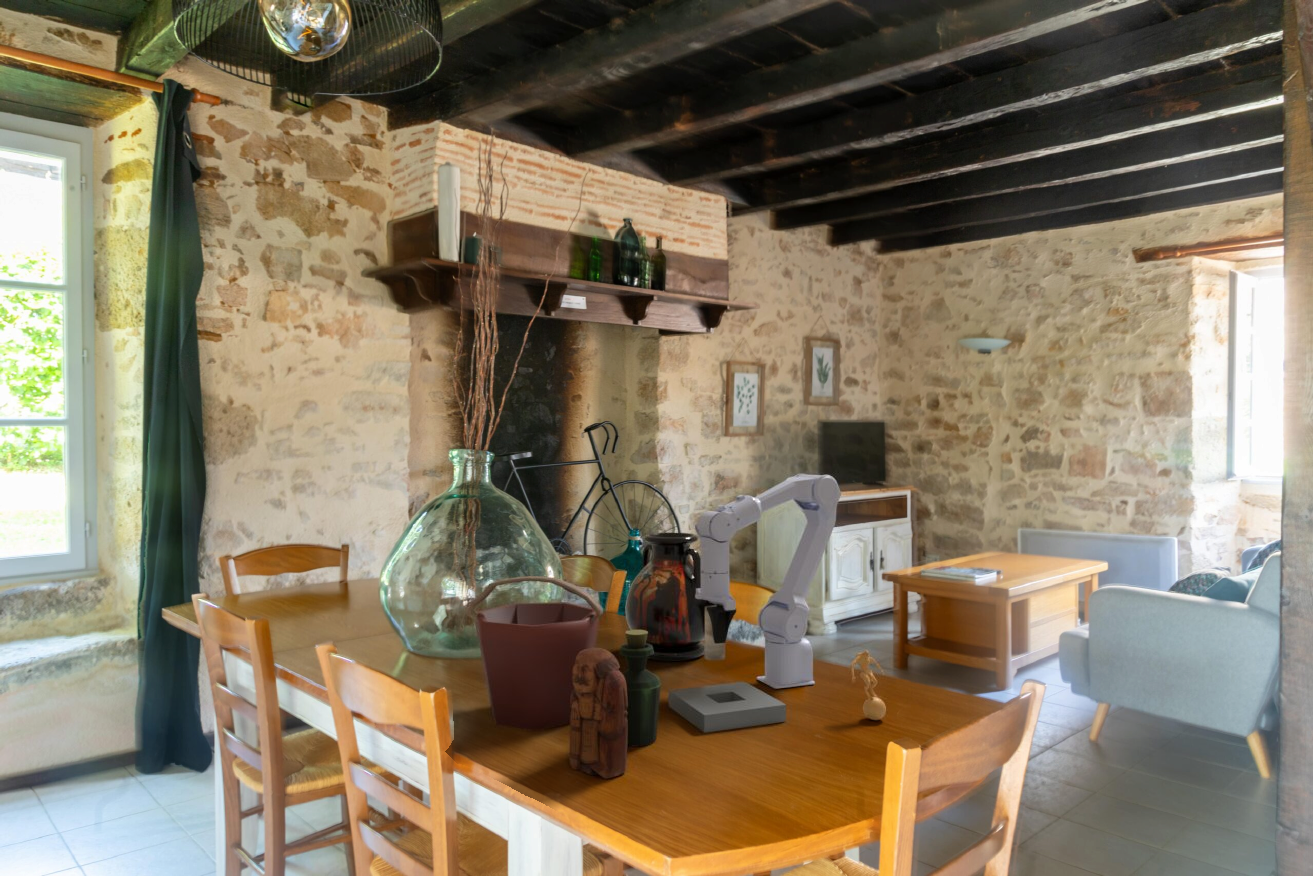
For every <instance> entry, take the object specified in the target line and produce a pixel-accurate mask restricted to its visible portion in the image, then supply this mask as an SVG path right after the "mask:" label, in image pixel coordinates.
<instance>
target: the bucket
mask: <svg viewBox="0 0 1313 876" xmlns="http://www.w3.org/2000/svg"><path fill="white" fill-rule="evenodd" d="M519 582H541V583H547V584H548V583H550V584H553V585H554V586H558V587H560V588H564V589H565V590H567V591H570V592H571V593H573V594H575V595H576V596H577V597H580V598H582V599H583V600H584V601H585V602H586V603H587V604H588V605H589V606H590V607H588V606H584V605H581V604H576V603H572V602H566V601H564V602H562V601H561V602H560V601H559V602H513V603H509V604H504V605H500V606H494V607H491V608H486V609H482V610H477V611H476V610H475V608H476V606H477V605H479V604H480V603H482V602H483V601H484V600H486V599H487V598H488V597H489V596H490V595H491V594H492V593H493V591H495V589H496V588H497V586H499V587H500V586H502V585H507V584H508V585H509V584H512V583H519ZM467 606H468V607H469V608H470V612H471V615H472V616H473V617H474V618H475V619H476V620H475V624H476V625H475V627H476V633H477V639H478V644H479V645H478V646H479V649H480V655H481V660H482V666H483V672H484V677H485V678H484V679H485V683H486V688H487V693H488V698H489V704H490V705H489V706H490V711H491V714H492V717H493V719H494V722H495V725H496V726H500V727H507V728H513V729H514V728H515V729H520V730H526V731H527V730H528V731H538V730H544V729H551V728H556V727H560V726H561V727H562V726H567V725H570V712H571V710H572V709H571V708H570V697H571V694H572V691H573V689H574V685H573V681H572V677H573V667H574V665H575V660H576V657H577V655H578V653H579V652H581V651H582V650H585V649H588V648H596V644H597V638H598V634H599V629H600V616H601V615H603V613H604V609H603V607H602V605H601V604H600V603H599V602H598V601H597V600H596V599H595V597H594V596H593V595H592V594H590V593H589V592H588V591H585V590H584V589H582V588H580V587H578V586H577V585H575V584H573V583H570V582H568V581H566V580H563V579H560V578H557V577H550V576H539V575H538V576H536V575H534V576H533V575H528V576H517V577H516V576H515V577H512V578H506V579H501V580H497V581H494V582H491V583H489V584H488V585H487V586H486V587H485V588H484V590H483V591H482V592H481V593H480V594H479V595H478V596H477V597H475V598H472V599H471V600H470V601H469V602H468V603H467Z"/></svg>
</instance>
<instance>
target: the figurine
mask: <svg viewBox="0 0 1313 876" xmlns="http://www.w3.org/2000/svg"><path fill="white" fill-rule="evenodd" d="M871 662H873V664H874V665H875V667H876V668H878V669H879V670H880V671H881V673H882V674H883V676H885V673H884V670H883V669H882V667H881V666H880V664H878V662H877V661H876V660H875V658H873V657H870V652H869V651H868V650H865V651H863V652H858V653H856V654H855V658H854V660H853V661H852V662H851V663H850V665H849V667H850V673H851V681H852V683H856V679H857V677H855V670H854V666H855V665H856V664H857V665H858V666H859V668H860V670H861V672H860V675H859V676H860V677H861V678H862V680H863V681H864V683H865V684H866V685H864V686H863V687H864V691H865V694H866V696H867V699H866V700H865V701H864V703H863V706H862V710H863V713H864V716H866V717H867V718H868V719H870V720H872V721H879V720H881V719H883V718H884V717H885V715H886V712H887V707H886V704H885V701H883V700H882V699H881V698H880V697H879V696H878V695H877V694H876V692H875V691H874V688H875V687H876V686H877V684H878V680H877V678H876V677H875V675H874V673H873V671H872V670H871V669H870V664H871ZM871 682H872V684H871ZM869 688H870V689H869ZM868 690H870V693H871V695H872V696H871V695H870V693H869V691H868Z"/></svg>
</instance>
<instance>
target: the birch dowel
mask: <svg viewBox="0 0 1313 876" xmlns="http://www.w3.org/2000/svg"><path fill="white" fill-rule="evenodd" d="M707 607H716V605H711V606H705V639H704V645H705V653H704V659H706V660H708V661H721V660H725V659H726V642H725V643H718V644H716V643H714V639H713V630H712V623H711V619H710V616H709V613H708V611H707Z"/></svg>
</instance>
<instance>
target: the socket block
mask: <svg viewBox="0 0 1313 876" xmlns="http://www.w3.org/2000/svg"><path fill="white" fill-rule="evenodd" d="M668 707H669V708H670V709H671V710H673V711H674V712H676V713H677V714H678V715H680V716H681V717H683V718H684V719H685V720H686V721H688V722H690V723H691V724H692V725H694V726H695V727H696V728H697V729H699V730H700V731H701V732H703V733H704V734H707V733H714V732H720V731H726V730H734V729H735V730H736V729H740V728H741V729H742V728H749V727H754V726H755V727H756V726H763V725H771V724H777V723H785V722H787V705H786V703H784V702H782V701H780V700H779V699H777V698H775V697H773V696H771V695H769V694H768V693H765V691H762V690H761V689H758V687H755V686H753V685H751V684H749V683H747V682H745V681H738V682H730V683H729V682H728V683H721V684H712V685H705V686H704V685H703V686H694V687H686V688H679V689H678V688H676V689H669V690H668Z"/></svg>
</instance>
